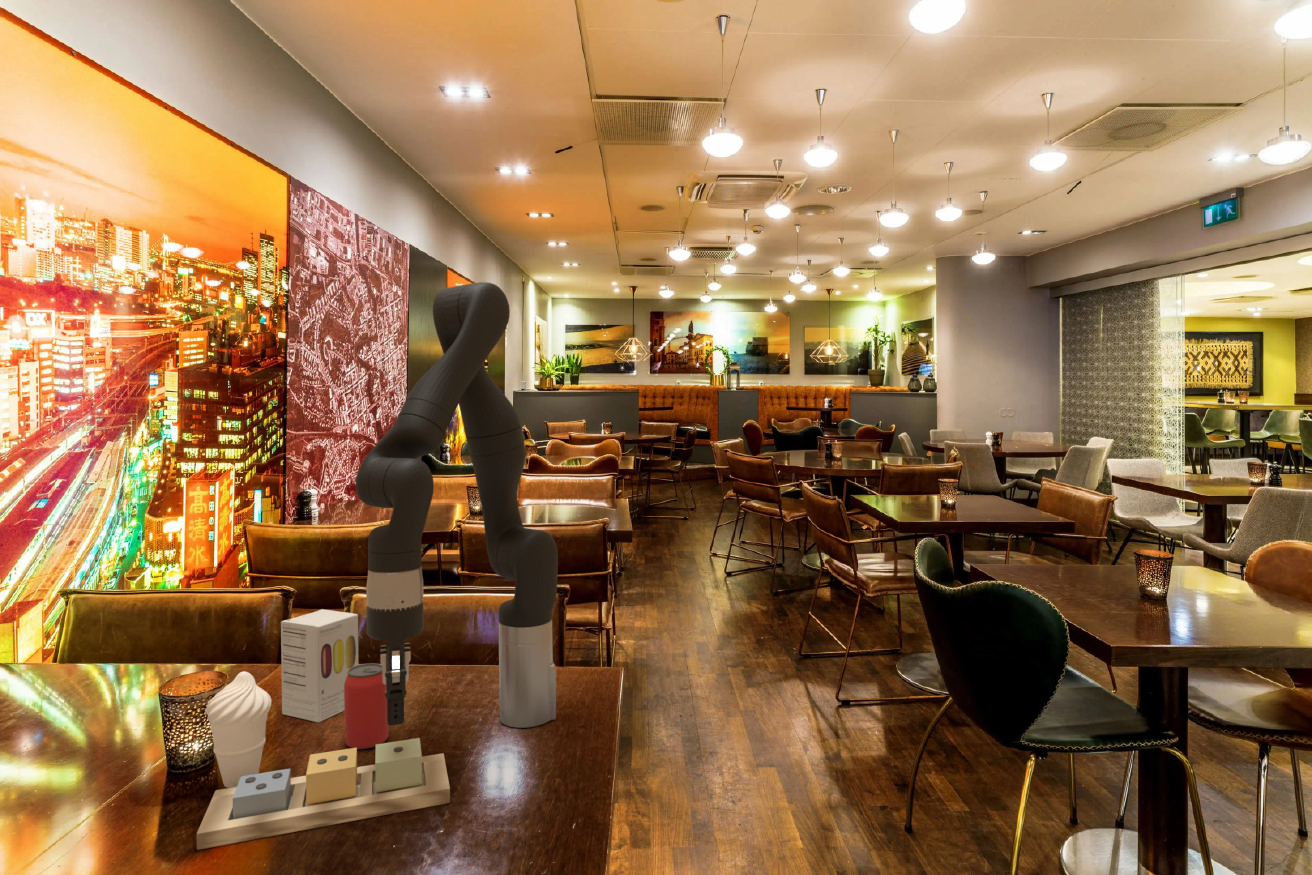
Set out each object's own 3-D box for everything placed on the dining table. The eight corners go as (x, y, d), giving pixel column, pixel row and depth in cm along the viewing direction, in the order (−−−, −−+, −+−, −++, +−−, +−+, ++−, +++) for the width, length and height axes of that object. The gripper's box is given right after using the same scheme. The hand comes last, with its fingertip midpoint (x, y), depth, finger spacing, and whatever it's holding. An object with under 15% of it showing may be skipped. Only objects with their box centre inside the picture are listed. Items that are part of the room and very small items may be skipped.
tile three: (291, 796, 100) (290, 766, 100) (285, 819, 95) (285, 787, 95) (241, 805, 98) (241, 774, 98) (233, 828, 93) (232, 796, 93)
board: (443, 766, 110) (443, 753, 110) (450, 802, 100) (449, 788, 100) (216, 804, 99) (215, 790, 99) (196, 849, 89) (196, 833, 89)
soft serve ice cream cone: (226, 802, 100) (223, 687, 99) (195, 785, 104) (192, 676, 104) (284, 776, 107) (282, 669, 107) (253, 762, 112) (251, 659, 111)
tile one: (420, 764, 106) (419, 736, 106) (422, 784, 101) (421, 754, 101) (376, 771, 104) (375, 743, 104) (375, 792, 99) (375, 761, 98)
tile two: (357, 775, 103) (356, 746, 103) (355, 795, 98) (355, 765, 98) (310, 782, 101) (310, 753, 101) (306, 804, 96) (305, 773, 96)
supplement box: (318, 723, 125) (316, 627, 125) (280, 715, 129) (278, 621, 128) (361, 703, 134) (359, 612, 133) (324, 695, 138) (322, 607, 137)
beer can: (373, 752, 114) (372, 677, 114) (336, 749, 116) (334, 674, 115) (396, 734, 121) (395, 663, 120) (361, 731, 122) (359, 660, 122)
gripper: (425, 609, 97) (426, 738, 97) (421, 587, 109) (421, 701, 110) (365, 614, 94) (365, 746, 95) (367, 591, 107) (368, 708, 107)
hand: (395, 722), depth 102 cm, fingers closed
